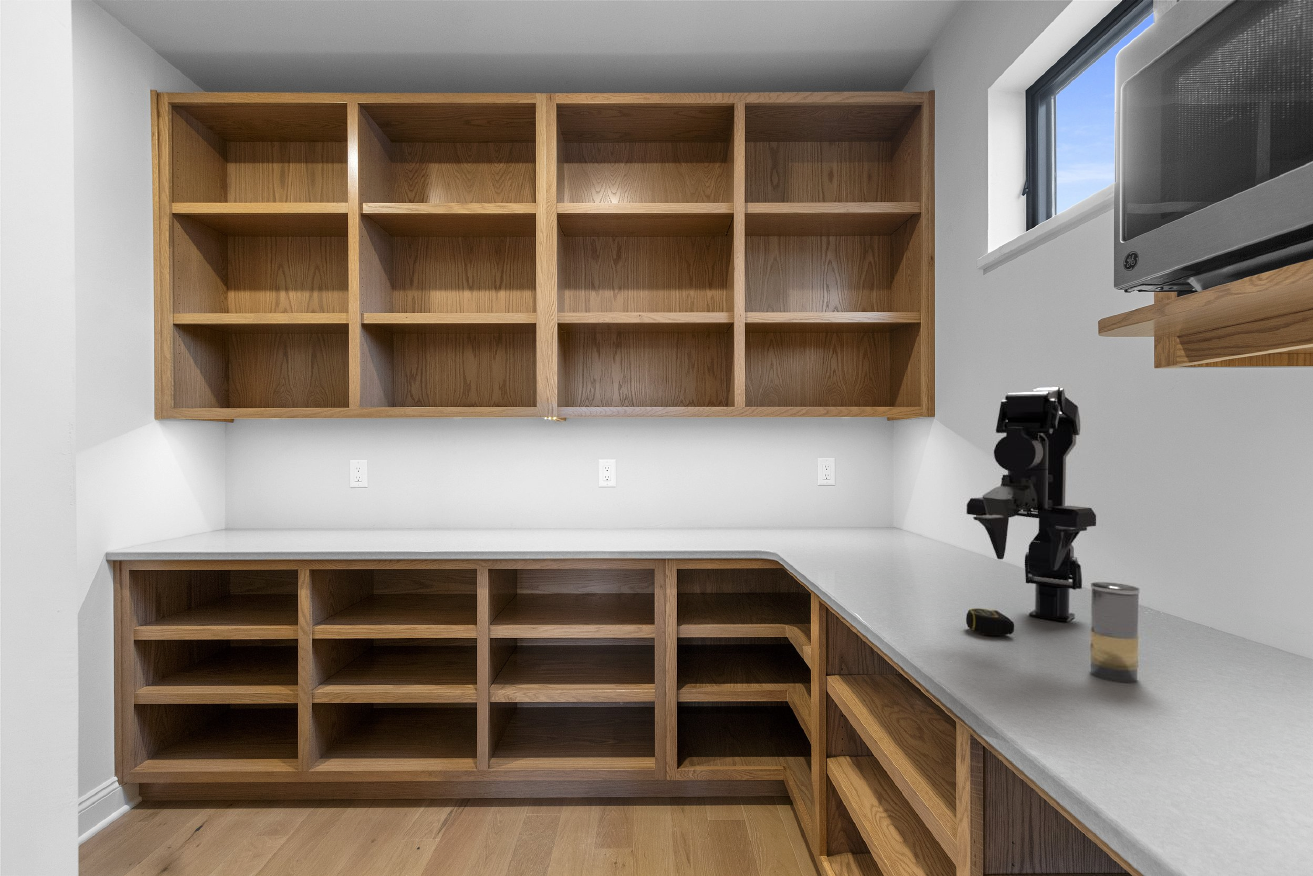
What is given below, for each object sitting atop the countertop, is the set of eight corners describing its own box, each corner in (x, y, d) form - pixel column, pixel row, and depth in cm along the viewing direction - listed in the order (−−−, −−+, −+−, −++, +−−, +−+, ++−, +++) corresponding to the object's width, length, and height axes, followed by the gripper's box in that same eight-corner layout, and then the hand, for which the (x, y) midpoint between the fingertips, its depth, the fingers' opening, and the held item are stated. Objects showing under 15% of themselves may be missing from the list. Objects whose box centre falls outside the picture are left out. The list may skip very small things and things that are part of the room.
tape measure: (1015, 640, 113) (1016, 618, 113) (973, 638, 114) (974, 616, 114) (1000, 629, 120) (1000, 608, 120) (960, 626, 121) (961, 606, 121)
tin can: (1094, 666, 100) (1095, 580, 100) (1141, 676, 96) (1142, 586, 96) (1085, 675, 96) (1086, 586, 96) (1134, 686, 92) (1135, 593, 92)
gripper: (945, 467, 112) (944, 558, 113) (1054, 474, 96) (1053, 581, 96) (987, 465, 118) (986, 553, 118) (1098, 471, 101) (1097, 573, 101)
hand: (1026, 564), depth 108 cm, fingers open, 9 cm apart
